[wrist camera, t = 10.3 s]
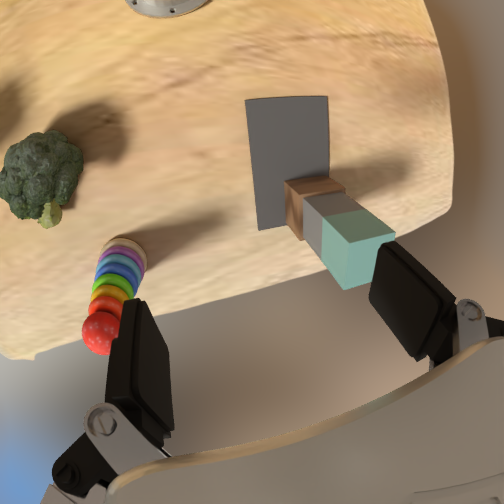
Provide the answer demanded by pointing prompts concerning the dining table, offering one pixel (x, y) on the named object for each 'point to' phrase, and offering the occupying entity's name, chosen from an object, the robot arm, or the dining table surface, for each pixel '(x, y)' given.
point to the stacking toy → (112, 291)
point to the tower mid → (323, 215)
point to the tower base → (300, 190)
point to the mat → (285, 149)
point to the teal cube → (353, 246)
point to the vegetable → (40, 176)
